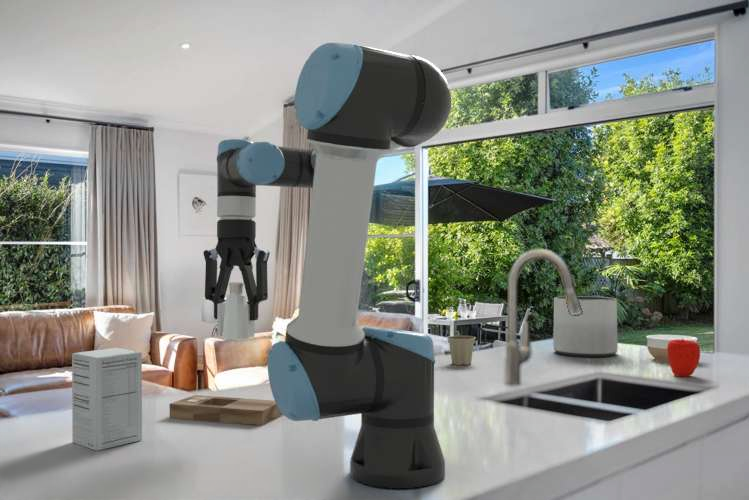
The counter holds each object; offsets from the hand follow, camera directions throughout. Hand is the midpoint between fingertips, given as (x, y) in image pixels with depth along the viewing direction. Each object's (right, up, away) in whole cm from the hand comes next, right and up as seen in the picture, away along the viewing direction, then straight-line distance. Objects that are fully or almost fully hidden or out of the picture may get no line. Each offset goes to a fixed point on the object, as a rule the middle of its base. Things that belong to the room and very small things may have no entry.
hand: (235, 336), depth 137 cm
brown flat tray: (-5, -19, +13) cm, 24 cm away
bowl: (+128, -20, +96) cm, 161 cm away
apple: (+118, -20, +66) cm, 136 cm away
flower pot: (+56, -20, +88) cm, 106 cm away
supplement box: (-23, -19, -7) cm, 30 cm away
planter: (+103, -20, +112) cm, 154 cm away
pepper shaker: (0, -1, 0) cm, 1 cm away
